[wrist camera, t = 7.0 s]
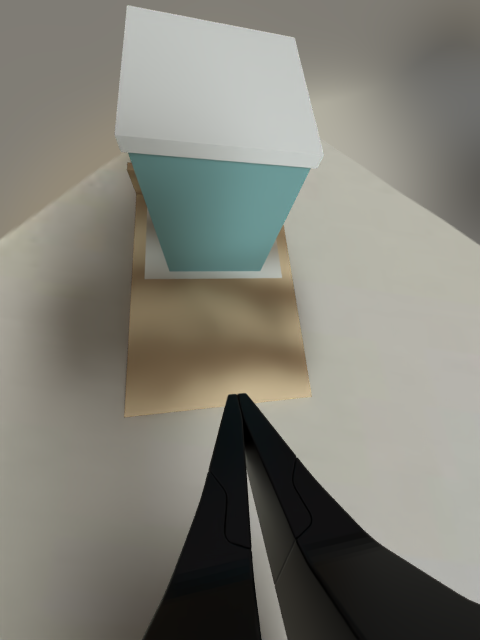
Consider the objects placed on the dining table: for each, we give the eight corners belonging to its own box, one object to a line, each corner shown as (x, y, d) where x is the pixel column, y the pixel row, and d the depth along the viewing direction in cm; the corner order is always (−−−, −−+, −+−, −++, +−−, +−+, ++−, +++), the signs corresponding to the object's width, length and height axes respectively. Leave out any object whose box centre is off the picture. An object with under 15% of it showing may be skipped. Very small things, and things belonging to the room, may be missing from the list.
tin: (262, 273, 19) (324, 155, 9) (167, 273, 18) (114, 134, 8) (253, 198, 21) (294, 37, 11) (167, 194, 20) (127, 5, 10)
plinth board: (308, 396, 17) (328, 399, 15) (127, 416, 15) (108, 424, 12) (276, 200, 23) (286, 174, 20) (138, 192, 20) (127, 162, 17)
